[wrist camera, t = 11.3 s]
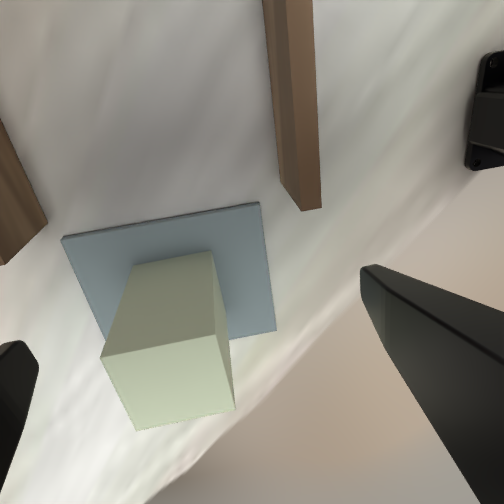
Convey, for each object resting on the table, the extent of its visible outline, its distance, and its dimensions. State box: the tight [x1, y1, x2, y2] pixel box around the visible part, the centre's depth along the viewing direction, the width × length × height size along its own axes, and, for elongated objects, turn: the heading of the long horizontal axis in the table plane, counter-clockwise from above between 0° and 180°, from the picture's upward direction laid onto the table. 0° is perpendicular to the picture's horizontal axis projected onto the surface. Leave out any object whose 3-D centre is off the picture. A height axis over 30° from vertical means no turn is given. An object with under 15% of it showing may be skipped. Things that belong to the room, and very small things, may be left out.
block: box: [100, 251, 236, 431], centre depth 19 cm, size 5×5×8 cm
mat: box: [60, 202, 277, 341], centre depth 23 cm, size 12×10×1 cm
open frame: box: [0, 0, 322, 266], centre depth 15 cm, size 16×13×5 cm
